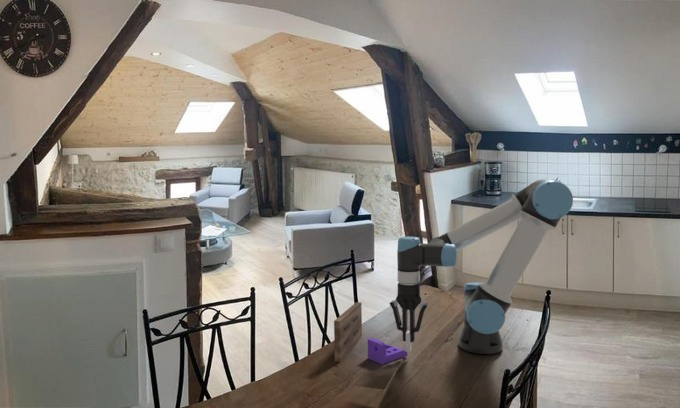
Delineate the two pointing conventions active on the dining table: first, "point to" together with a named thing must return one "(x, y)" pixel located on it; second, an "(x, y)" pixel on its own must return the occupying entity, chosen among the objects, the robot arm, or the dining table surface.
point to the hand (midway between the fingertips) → (408, 350)
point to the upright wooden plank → (347, 331)
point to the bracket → (383, 351)
